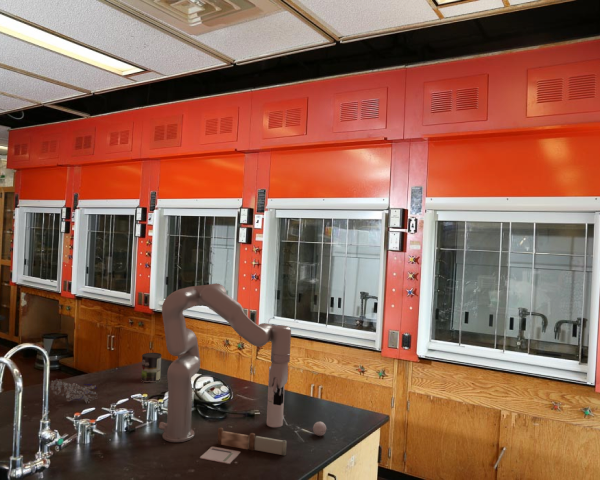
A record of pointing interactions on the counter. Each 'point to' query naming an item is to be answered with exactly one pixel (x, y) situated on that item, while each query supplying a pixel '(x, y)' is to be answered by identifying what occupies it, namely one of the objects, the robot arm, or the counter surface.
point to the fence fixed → (236, 439)
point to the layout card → (220, 455)
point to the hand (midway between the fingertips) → (278, 403)
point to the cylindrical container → (274, 409)
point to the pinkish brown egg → (319, 428)
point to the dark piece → (73, 390)
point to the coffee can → (151, 366)
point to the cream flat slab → (270, 445)
